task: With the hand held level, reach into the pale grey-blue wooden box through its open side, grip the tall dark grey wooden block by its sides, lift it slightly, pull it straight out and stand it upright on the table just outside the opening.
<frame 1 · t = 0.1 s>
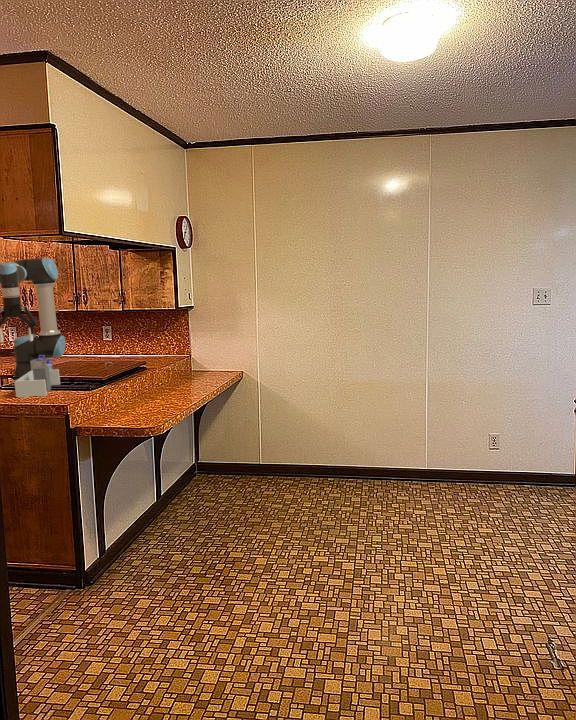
hand: (16, 341, 296), 28 cm above the worktop, tool pointing down, fingers open, 13 cm apart
dark grey block: (43, 390, 317), on the worktop
open side box: (39, 390, 317), on the worktop
ink cartridge box: (43, 382, 336), on the worktop
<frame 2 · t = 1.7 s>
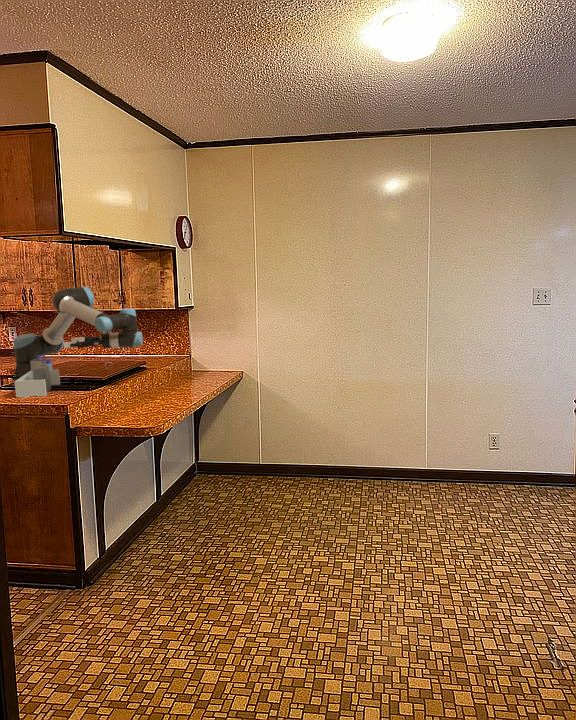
hand: (67, 342, 313), 24 cm above the worktop, tool horizontal, fingers open, 13 cm apart
nothing on the worktop moved.
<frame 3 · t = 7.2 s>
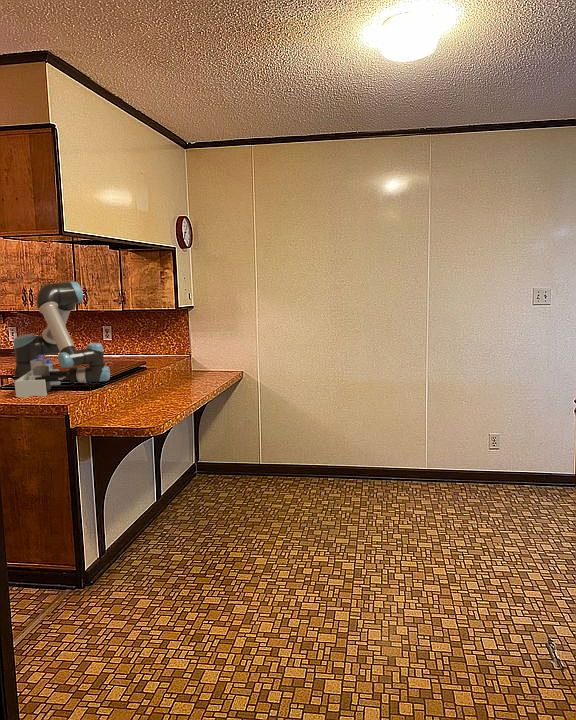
hand: (31, 377, 315), 7 cm above the worktop, tool horizontal, fingers closed on dark grey block, 6 cm apart
dark grey block: (43, 390, 317), on the worktop, touching gripper
everything else where it was.
when the fingers open (7 cm above the worktop, at t = 12.1 s): dark grey block stays where it is, on the worktop.
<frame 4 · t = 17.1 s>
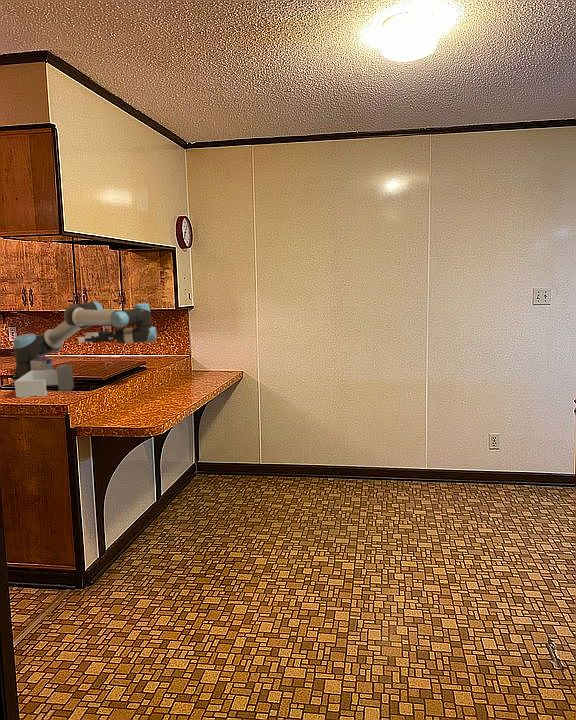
hand: (81, 337, 313), 26 cm above the worktop, tool horizontal, fingers open, 13 cm apart
dark grey block: (66, 389, 318), on the worktop
everything else where it was.
at the end: dark grey block inside the target area (0.2 cm from its centre), on the worktop; dark grey block tilted 0°; the gripper is holding nothing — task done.
